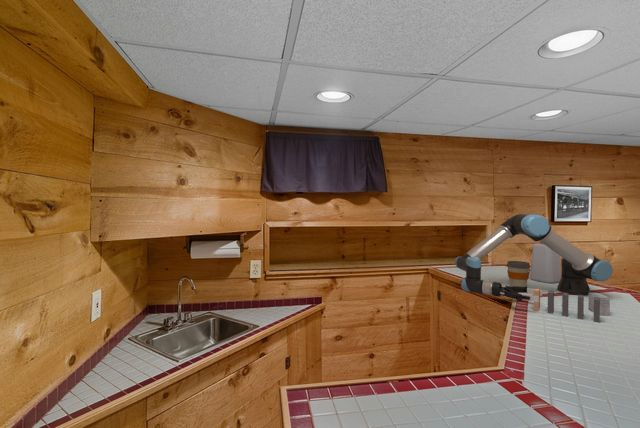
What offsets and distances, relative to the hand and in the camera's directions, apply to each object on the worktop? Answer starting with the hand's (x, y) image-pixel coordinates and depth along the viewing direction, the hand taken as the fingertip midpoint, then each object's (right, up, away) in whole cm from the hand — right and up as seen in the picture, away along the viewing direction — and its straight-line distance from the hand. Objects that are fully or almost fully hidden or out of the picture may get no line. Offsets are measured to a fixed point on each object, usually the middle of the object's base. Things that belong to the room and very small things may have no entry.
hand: (540, 296), depth 150 cm
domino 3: (+11, -7, -10) cm, 17 cm away
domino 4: (+15, -7, -14) cm, 22 cm away
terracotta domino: (-1, -7, +1) cm, 7 cm away
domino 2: (+7, -7, -6) cm, 12 cm away
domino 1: (+3, -7, -2) cm, 8 cm away
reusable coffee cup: (+19, -6, +47) cm, 51 cm away
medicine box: (+26, -7, -3) cm, 27 cm away
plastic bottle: (+46, -5, +59) cm, 75 cm away
